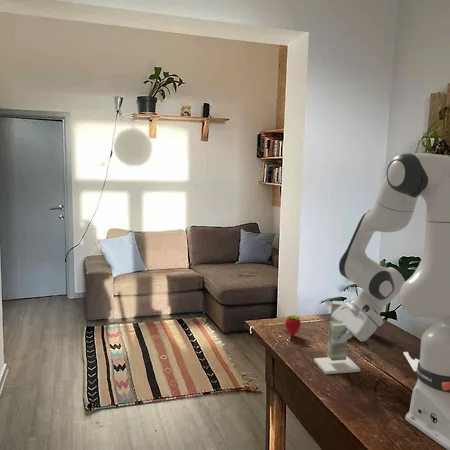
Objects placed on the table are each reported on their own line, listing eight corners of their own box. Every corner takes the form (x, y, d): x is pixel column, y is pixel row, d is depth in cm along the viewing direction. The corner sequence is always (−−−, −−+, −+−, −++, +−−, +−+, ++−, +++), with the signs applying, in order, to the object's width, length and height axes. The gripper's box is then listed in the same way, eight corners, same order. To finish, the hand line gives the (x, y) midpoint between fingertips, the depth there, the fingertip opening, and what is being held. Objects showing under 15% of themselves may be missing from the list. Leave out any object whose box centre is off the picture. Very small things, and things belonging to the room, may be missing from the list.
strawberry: (299, 333, 182) (300, 309, 181) (300, 340, 175) (301, 315, 173) (284, 332, 183) (285, 308, 181) (285, 339, 175) (285, 314, 174)
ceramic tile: (360, 371, 149) (360, 368, 148) (325, 374, 146) (325, 371, 146) (346, 358, 158) (346, 356, 158) (314, 361, 156) (314, 358, 156)
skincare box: (329, 332, 183) (330, 303, 182) (330, 329, 187) (331, 300, 186) (346, 334, 181) (347, 304, 180) (346, 330, 185) (348, 301, 184)
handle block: (346, 359, 151) (347, 324, 149) (331, 360, 150) (333, 325, 148) (341, 354, 155) (342, 320, 153) (327, 355, 154) (328, 321, 152)
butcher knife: (418, 355, 163) (418, 352, 163) (430, 374, 148) (430, 371, 148) (403, 354, 164) (403, 351, 164) (413, 372, 149) (414, 369, 149)
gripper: (345, 293, 161) (317, 321, 161) (373, 312, 141) (342, 344, 141) (356, 305, 162) (329, 332, 162) (386, 325, 142) (355, 356, 142)
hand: (335, 338), depth 151 cm, fingers closed on handle block, 4 cm apart
